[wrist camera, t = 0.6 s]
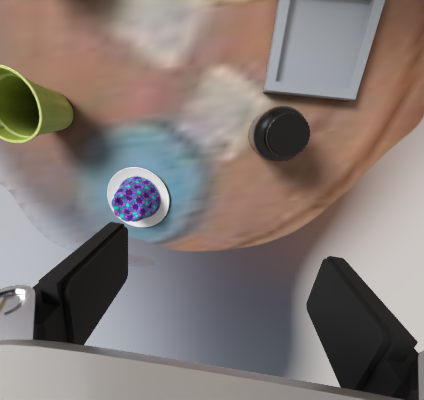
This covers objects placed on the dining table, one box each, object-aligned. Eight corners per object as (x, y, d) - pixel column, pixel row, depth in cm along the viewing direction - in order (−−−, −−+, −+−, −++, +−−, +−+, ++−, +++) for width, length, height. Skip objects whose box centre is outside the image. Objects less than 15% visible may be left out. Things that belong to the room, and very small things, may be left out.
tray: (280, -15, 28) (284, -26, 26) (378, -7, 27) (390, -17, 26) (262, 92, 32) (265, 90, 30) (347, 100, 32) (355, 99, 30)
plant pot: (84, 87, 34) (39, 74, 26) (83, 145, 37) (42, 150, 29) (28, 73, 34) (-36, 55, 25) (31, 132, 37) (-25, 133, 29)
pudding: (96, 185, 40) (78, 193, 35) (146, 154, 37) (133, 158, 32) (134, 235, 43) (121, 249, 38) (182, 209, 40) (176, 220, 35)
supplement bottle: (298, 123, 33) (334, 120, 22) (276, 161, 35) (298, 177, 24) (260, 103, 33) (277, 90, 21) (240, 144, 35) (246, 151, 24)
